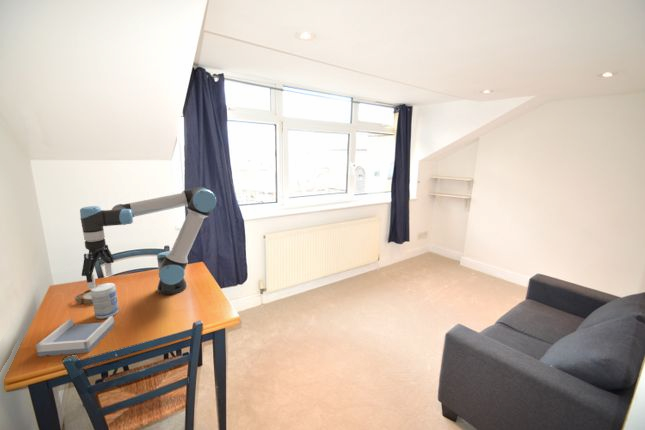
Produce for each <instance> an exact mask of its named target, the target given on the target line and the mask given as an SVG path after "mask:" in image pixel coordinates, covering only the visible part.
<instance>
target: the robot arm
mask: <svg viewBox="0 0 645 430" xmlns="http://www.w3.org/2000/svg"><path fill="white" fill-rule="evenodd" d="M216 205H217V197H216V194H214V192H213V191H212V190H210V189H208V188H206V187H203V186H197V187H195V188H190V189H186V190H185V189H184V190H182V191H181V192H180V193H176V194H171V195H165V196H159V197H154V198H150V199H144V200H140V201H134V202H129V203H123V204H122V203H119V204H115V206H113V207H111V209H106V210H104V209H103V210H102V209H101V207H100V206H97V205H94V206H83V207H81V208H80V209H79V215H80V218H79V219H80V223H81V227H82V233H83V234H82V235H83V240H84V246H85V249H86V250H88V253H84V254H83V263H82V269H81V276H82V277H86V283H87V288H88V289H92V288H96V286H97V285H96V280H95V274H93V272H94V270H95V266H96V264H97V262H98V261H99V259H101V260H102V261H103V262H104V270H105V276H106V277H112V276H113V274H114V273H113V267H112V263H114V262H115V261H114V260H115V258H114V255H113V254H112V252H111V250H110V249H109V245H108V244H106V239H105V238H106V236H105V231H104V227H112V226H126V225H131V224H133V223H134V218H135V217H140V216H145V215H149V214H153V213H158V212H163V211H168V210H172V209H178V208H181V207H186V209H187V211H188V212H187V215H186V217H185V219H184V221H183V224H182V226H181V228H180V231H179V232H178V233H177V234H178V235H177V237H176V239H175V241H174V244H173V246H172V248H171V250H167V251H163V252H159V253H158V254H157V255H156V257H157V258H156V259H157V266H158V278H159V279H158V280H159V281H158V284H157V293H158V294H159V295H162V296H164V295H165V296H167V295H168V296H169V295H175V294H178V293H180V292H183V291H184V290H186V289H187V281H186V279H185V278H184V277H185V275H186V273H185V270H186V268H187V266H188V263H189V260H188V255H189V254H190V251H191V249H192V247H193V245H194V242H195V241H196V238H197V235H198V233H199V231H200V229H201V227H202V225H203V223H204V219H206V218H209V215H210V214H211V211H213V209H215V207H216Z"/></svg>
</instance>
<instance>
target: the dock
mask: <svg viewBox="0 0 645 430" xmlns="http://www.w3.org/2000/svg"><path fill="white" fill-rule="evenodd" d="M114 327H115V320H114V315H113V316H110V317H108V318H106V320H104V322H94V323H79V324H78V323H76V324H74V320H73V318H69V319H67V320H66V321H64V323H62V324H61V325H60V326H59V327H57V328H55V330H53V331H52V332H51V333H49V335H47V336H45V338H43V339H42V340H41V341H40V342H38V343H37V344H36V345H35V347H36V348H35V349H36V352H37V356H39V357H47V356H46V355H50V356H51V357H52V356H61V355H60V354H63V355H73V354H74V353H75V354H84V353H85V354H87V353H90V352H91V351H92V350H93V349H94V348H95V347H96V346H97V345H98V344H99V343H100V341H102V339H103V338H105V336H107V334H108V333H109V332H110V331H111V330H112V329H113V328H114ZM75 354H74V355H75Z"/></svg>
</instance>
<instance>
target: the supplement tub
mask: <svg viewBox="0 0 645 430" xmlns="http://www.w3.org/2000/svg"><path fill="white" fill-rule="evenodd" d="M90 290H91V296H92V301H93V304H92V305H93V312H94V316H95V317H96V319H99V320H100V319H101V320H102V319H104V320H105V319H108V318H109V317H110V316H113V317H114V316H115V315H117V314H118V313H119V310H120V308H119V307H120V306H119V302H118V294H117V288H116V284H115V283H113V282H107V283H101V284H97V285H96V288H90Z"/></svg>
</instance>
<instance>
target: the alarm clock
mask: <svg viewBox="0 0 645 430" xmlns="http://www.w3.org/2000/svg"><path fill="white" fill-rule="evenodd" d="M74 300H75V302H77V304H78V305H82V304H84V305H93V301H92V296H91V289H87V290H85V291H84V292H83V293H81V294H77V295H75V297H74Z"/></svg>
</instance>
